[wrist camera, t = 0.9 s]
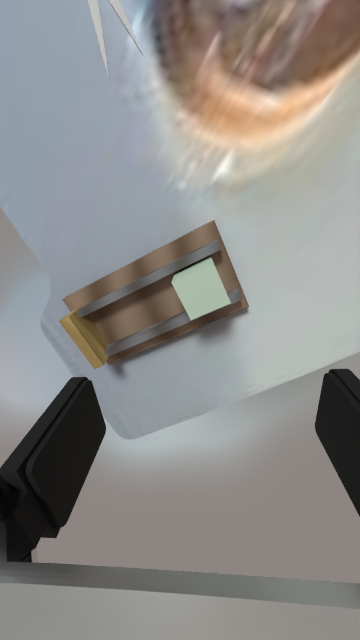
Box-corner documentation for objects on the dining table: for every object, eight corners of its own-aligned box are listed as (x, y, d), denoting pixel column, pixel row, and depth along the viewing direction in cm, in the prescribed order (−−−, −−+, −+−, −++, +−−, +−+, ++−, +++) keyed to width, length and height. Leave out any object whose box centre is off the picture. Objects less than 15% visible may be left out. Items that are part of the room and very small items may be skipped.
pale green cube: (210, 255, 29) (213, 262, 25) (225, 290, 31) (231, 303, 26) (174, 272, 30) (171, 282, 26) (191, 305, 32) (190, 320, 28)
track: (213, 220, 29) (217, 221, 24) (246, 302, 33) (256, 318, 28) (67, 296, 34) (45, 309, 29) (111, 359, 38) (99, 380, 33)
